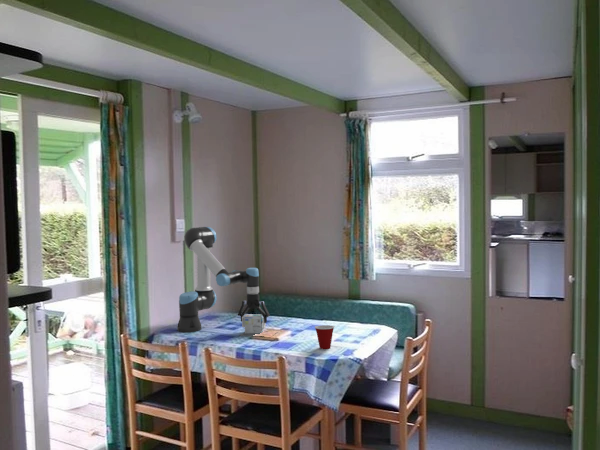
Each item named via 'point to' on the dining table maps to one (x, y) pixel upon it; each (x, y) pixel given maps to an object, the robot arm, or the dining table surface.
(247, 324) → the light bulb box
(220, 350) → the dining table surface
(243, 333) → the tile
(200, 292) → the robot arm
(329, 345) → the plastic cup
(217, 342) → the dining table surface
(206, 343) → the dining table surface
